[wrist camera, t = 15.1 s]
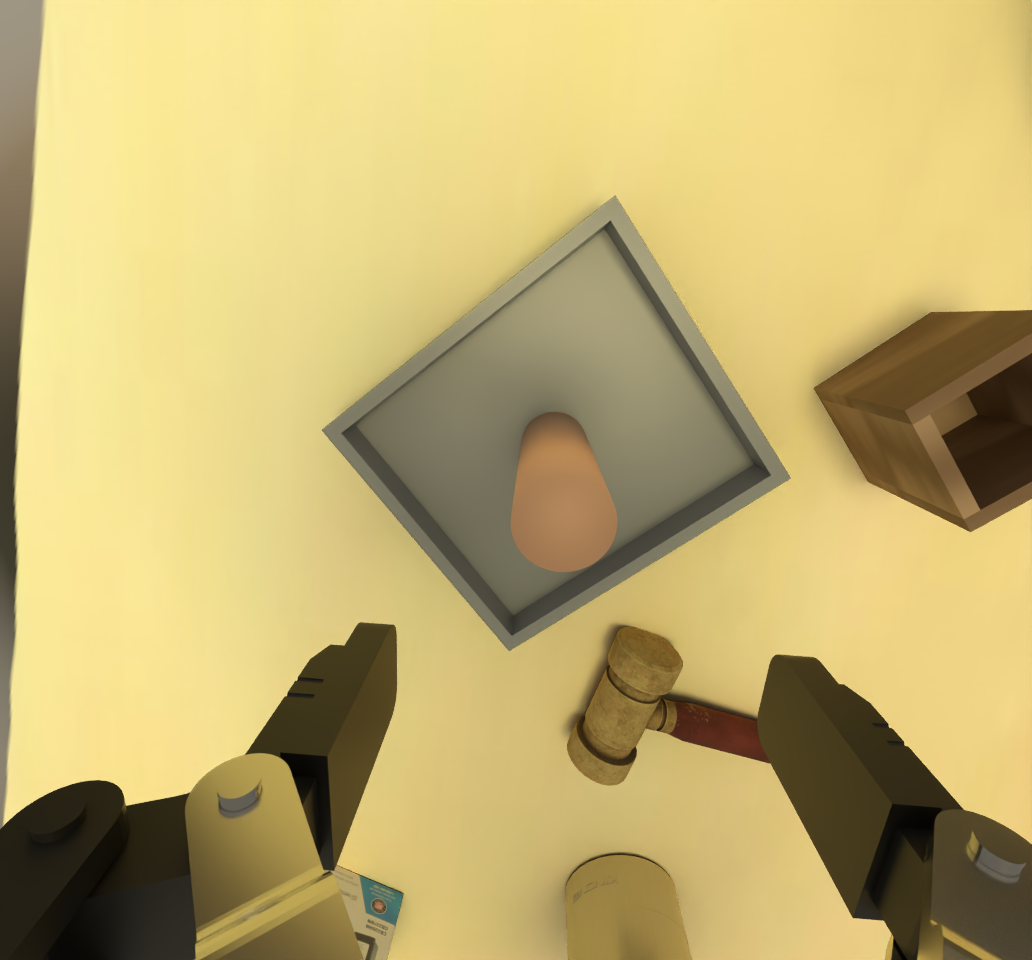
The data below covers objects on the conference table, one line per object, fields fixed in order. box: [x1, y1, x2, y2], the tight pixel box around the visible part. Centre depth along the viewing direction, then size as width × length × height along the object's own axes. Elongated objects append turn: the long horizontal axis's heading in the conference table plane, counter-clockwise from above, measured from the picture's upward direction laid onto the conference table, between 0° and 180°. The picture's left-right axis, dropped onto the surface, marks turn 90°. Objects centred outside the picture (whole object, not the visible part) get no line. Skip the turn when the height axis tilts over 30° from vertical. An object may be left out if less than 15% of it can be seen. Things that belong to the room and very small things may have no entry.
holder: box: [814, 310, 1032, 532], centre depth 27 cm, size 7×7×8 cm
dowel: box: [510, 412, 617, 572], centre depth 26 cm, size 4×4×13 cm
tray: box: [322, 196, 791, 651], centre depth 31 cm, size 18×20×3 cm
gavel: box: [567, 627, 771, 785], centre depth 37 cm, size 21×5×10 cm
